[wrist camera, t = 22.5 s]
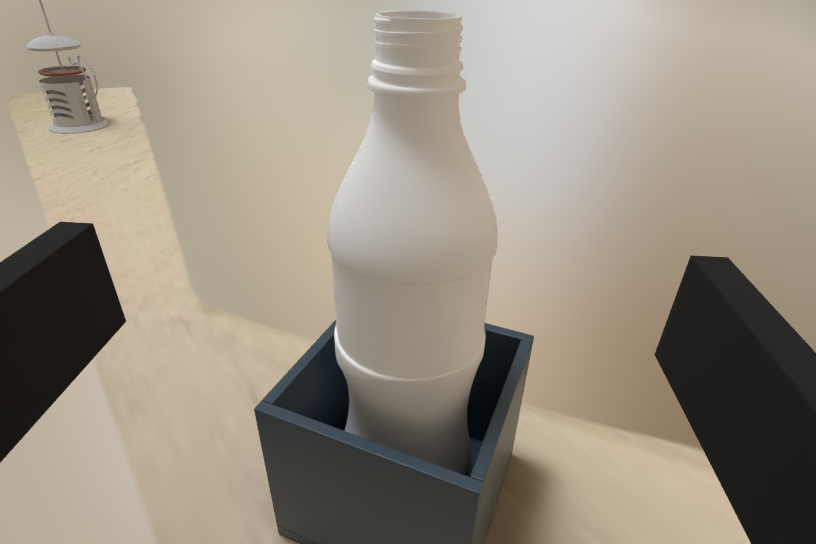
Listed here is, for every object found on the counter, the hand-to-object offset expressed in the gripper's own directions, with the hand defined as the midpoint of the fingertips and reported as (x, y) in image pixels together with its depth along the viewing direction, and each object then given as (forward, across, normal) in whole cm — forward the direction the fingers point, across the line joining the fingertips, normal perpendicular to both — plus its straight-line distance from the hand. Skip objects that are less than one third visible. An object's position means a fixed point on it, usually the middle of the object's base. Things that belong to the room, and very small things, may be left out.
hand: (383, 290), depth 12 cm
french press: (+80, -65, -22) cm, 105 cm away
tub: (+10, 0, -21) cm, 23 cm away
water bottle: (+10, 0, -20) cm, 23 cm away
